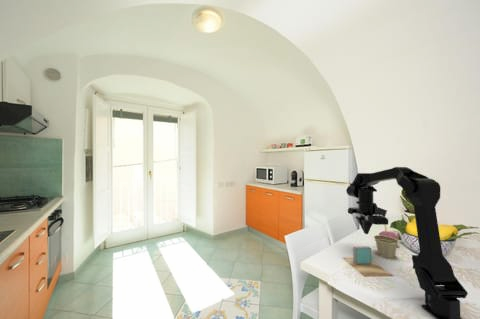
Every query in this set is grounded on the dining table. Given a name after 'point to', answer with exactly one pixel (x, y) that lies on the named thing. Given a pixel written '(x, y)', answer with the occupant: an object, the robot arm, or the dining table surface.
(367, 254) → the tile
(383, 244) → the flower pot
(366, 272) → the board
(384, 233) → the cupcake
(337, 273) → the dining table surface
